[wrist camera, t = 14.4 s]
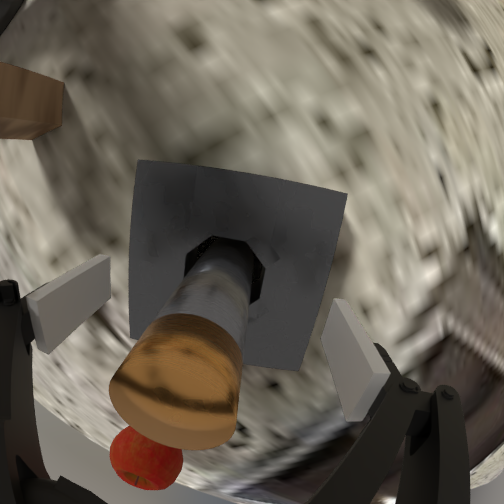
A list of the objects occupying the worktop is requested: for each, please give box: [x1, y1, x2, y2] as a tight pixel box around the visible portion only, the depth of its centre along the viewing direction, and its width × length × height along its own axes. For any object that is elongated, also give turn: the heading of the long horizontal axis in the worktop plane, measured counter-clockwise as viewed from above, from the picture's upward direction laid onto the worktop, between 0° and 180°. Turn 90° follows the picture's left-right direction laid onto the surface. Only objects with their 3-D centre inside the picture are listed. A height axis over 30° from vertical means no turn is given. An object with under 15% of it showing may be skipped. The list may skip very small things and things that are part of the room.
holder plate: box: [129, 160, 348, 371], centre depth 20 cm, size 14×14×4 cm
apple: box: [110, 426, 183, 490], centre depth 23 cm, size 9×8×11 cm
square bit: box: [0, 62, 64, 140], centre depth 13 cm, size 5×5×12 cm
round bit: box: [109, 237, 254, 450], centre depth 14 cm, size 4×4×16 cm
